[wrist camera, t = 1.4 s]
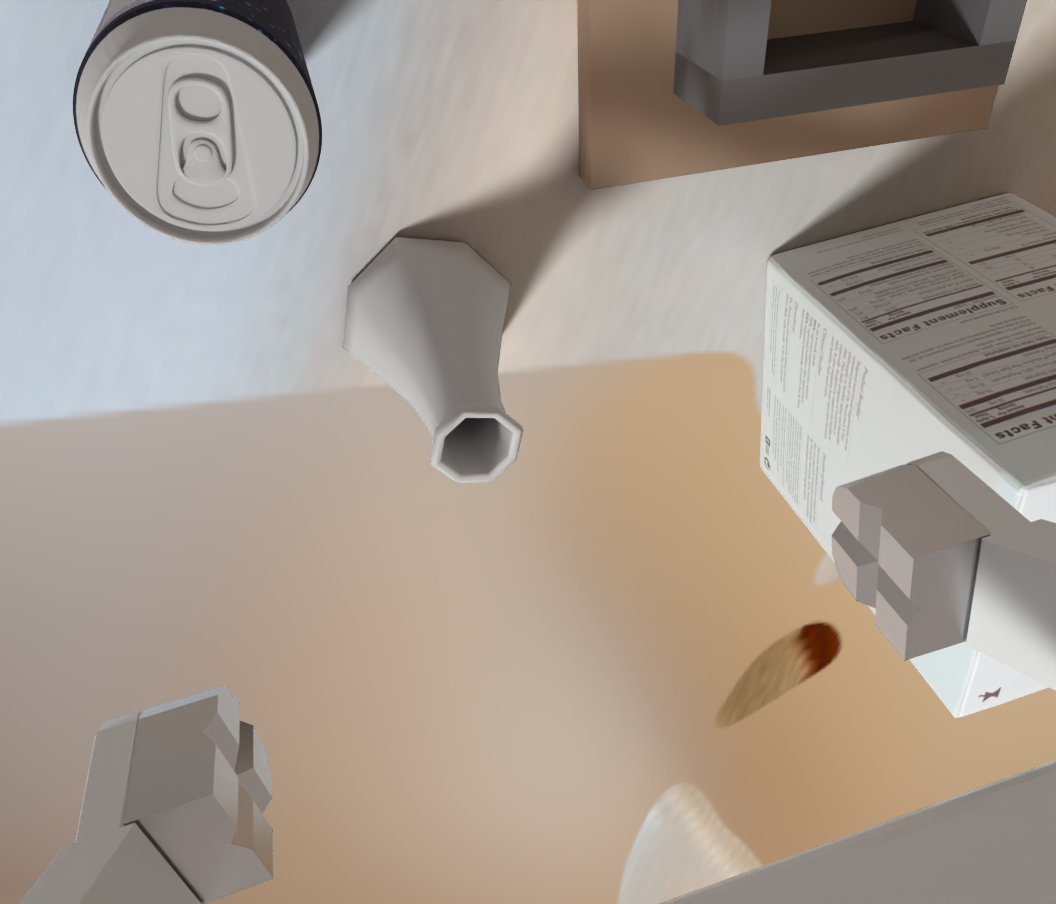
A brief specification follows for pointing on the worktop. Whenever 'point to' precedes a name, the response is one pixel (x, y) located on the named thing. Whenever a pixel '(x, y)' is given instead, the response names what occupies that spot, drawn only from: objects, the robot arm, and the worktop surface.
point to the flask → (439, 348)
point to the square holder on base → (778, 79)
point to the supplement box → (918, 377)
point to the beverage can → (199, 115)
